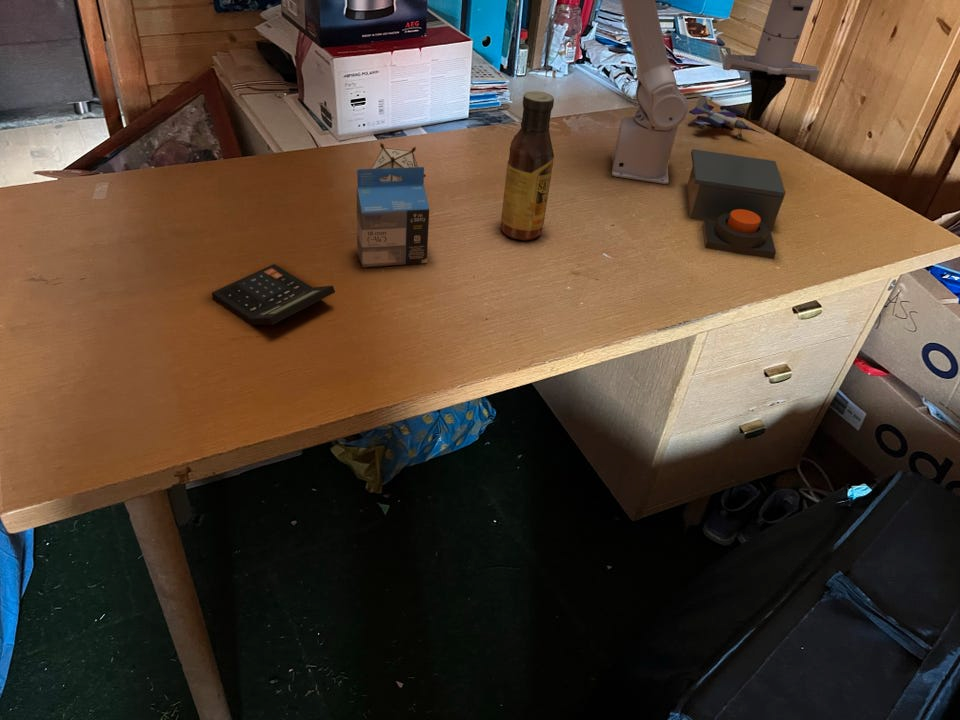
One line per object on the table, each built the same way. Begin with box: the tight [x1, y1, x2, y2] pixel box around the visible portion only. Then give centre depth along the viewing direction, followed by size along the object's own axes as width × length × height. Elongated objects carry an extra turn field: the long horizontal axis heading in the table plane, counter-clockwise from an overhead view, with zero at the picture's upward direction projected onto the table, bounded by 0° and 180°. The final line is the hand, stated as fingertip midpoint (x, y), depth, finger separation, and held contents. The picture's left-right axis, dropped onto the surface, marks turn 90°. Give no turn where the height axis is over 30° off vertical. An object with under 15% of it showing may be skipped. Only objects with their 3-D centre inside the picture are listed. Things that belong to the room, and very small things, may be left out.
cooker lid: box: [690, 148, 787, 198], centre depth 118 cm, size 13×12×1 cm
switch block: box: [701, 213, 777, 260], centre depth 112 cm, size 10×7×3 cm
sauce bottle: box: [500, 90, 555, 241], centre depth 104 cm, size 6×6×20 cm
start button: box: [727, 209, 761, 234], centre depth 111 cm, size 4×4×2 cm
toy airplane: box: [688, 95, 766, 140], centre depth 146 cm, size 13×14×4 cm
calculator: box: [211, 263, 336, 326], centre depth 91 cm, size 9×12×3 cm
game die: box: [370, 142, 427, 181], centre depth 113 cm, size 9×8×10 cm
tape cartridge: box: [356, 166, 430, 268], centre depth 98 cm, size 9×4×12 cm, turn 105°
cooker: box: [686, 165, 785, 232], centre depth 120 cm, size 13×12×6 cm
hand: (754, 118), depth 125 cm, fingers closed
